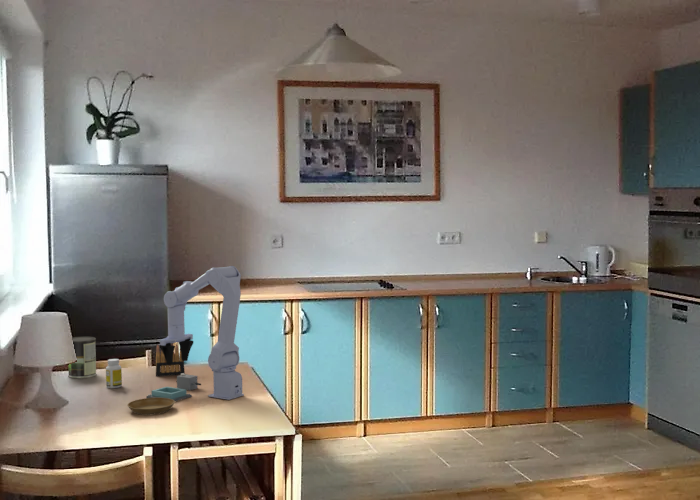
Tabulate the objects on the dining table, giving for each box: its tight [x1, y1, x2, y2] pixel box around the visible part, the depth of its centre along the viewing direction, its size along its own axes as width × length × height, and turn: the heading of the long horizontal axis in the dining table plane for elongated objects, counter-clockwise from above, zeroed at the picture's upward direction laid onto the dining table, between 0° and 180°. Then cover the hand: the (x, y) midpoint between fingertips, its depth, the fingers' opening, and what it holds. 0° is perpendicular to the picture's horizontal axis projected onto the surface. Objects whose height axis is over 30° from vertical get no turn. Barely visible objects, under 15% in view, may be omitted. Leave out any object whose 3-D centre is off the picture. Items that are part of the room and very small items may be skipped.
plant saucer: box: [127, 397, 176, 416], centre depth 273 cm, size 15×15×3 cm
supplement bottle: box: [105, 358, 123, 389], centre depth 305 cm, size 5×5×10 cm
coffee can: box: [67, 336, 97, 379], centre depth 324 cm, size 10×10×14 cm
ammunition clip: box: [155, 342, 186, 377], centre depth 325 cm, size 11×2×12 cm, turn 107°
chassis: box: [146, 386, 193, 402], centre depth 290 cm, size 12×9×2 cm
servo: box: [175, 373, 202, 391], centre depth 302 cm, size 11×4×5 cm, turn 57°
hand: (177, 362), depth 303 cm, fingers open, 7 cm apart
